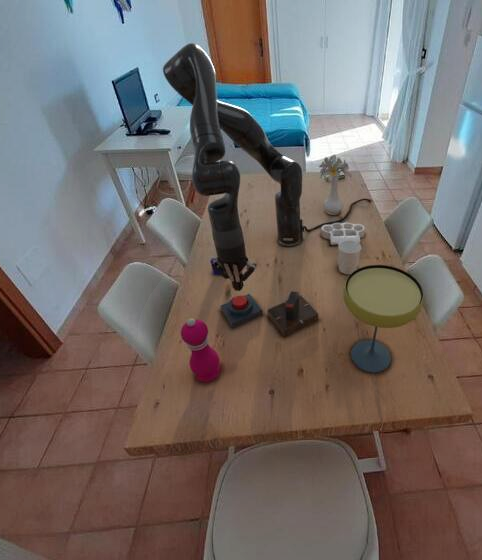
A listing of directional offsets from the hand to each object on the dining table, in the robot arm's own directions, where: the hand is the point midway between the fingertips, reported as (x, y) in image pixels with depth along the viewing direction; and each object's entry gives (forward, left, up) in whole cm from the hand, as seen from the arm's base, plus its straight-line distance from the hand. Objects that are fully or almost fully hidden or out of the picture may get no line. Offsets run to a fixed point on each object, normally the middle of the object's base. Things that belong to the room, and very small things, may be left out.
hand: (238, 288), depth 96 cm
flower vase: (-62, -37, -10) cm, 73 cm away
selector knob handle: (-12, +11, -7) cm, 17 cm away
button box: (0, 0, -10) cm, 10 cm away
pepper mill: (+17, +15, -10) cm, 25 cm away
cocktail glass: (-22, +35, -10) cm, 43 cm away
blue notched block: (-4, -27, -10) cm, 29 cm away
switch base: (-12, +11, -10) cm, 19 cm away
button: (0, 0, -6) cm, 6 cm away
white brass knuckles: (-53, -17, -10) cm, 57 cm away
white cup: (-41, +1, -10) cm, 42 cm away
